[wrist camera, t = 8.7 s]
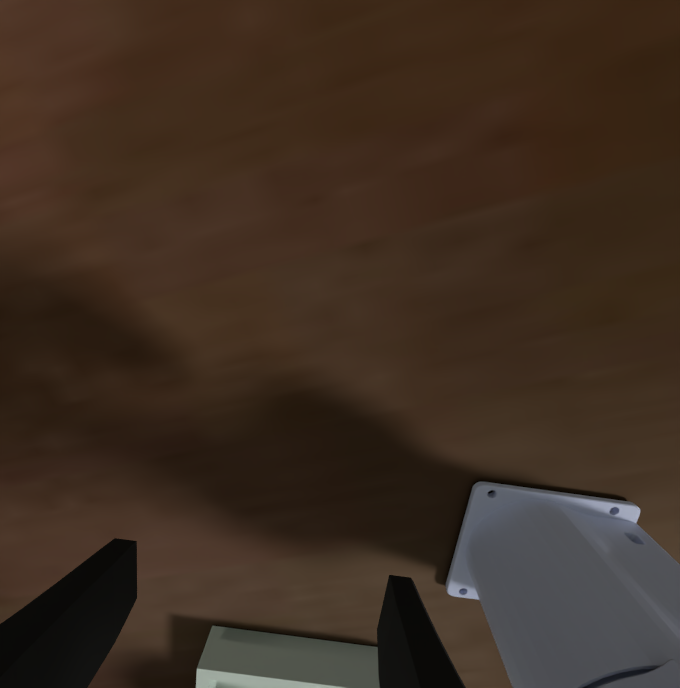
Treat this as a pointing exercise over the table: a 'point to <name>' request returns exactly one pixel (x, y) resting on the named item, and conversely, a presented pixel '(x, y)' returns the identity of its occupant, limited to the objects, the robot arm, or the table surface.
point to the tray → (283, 662)
